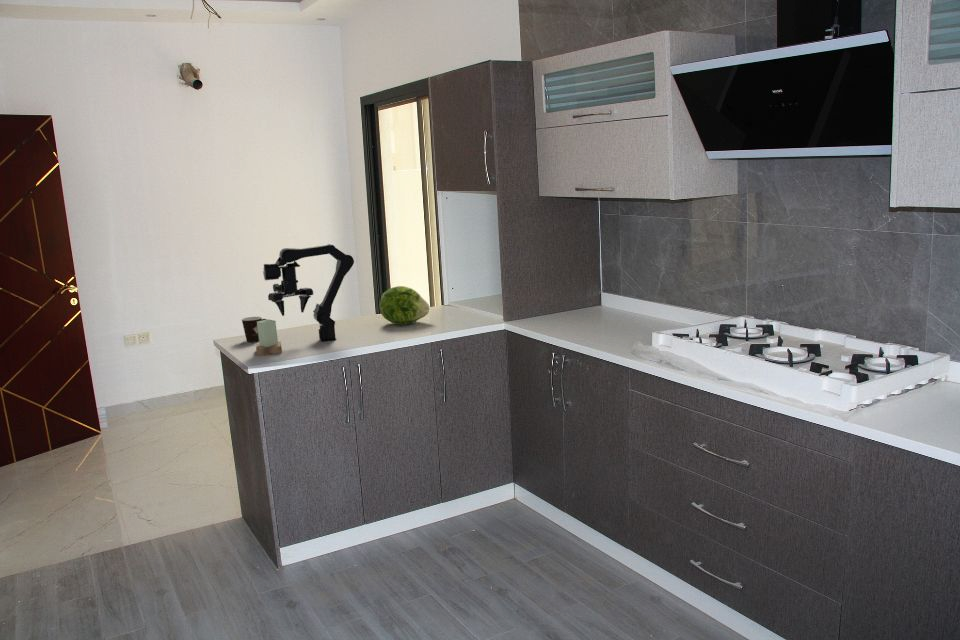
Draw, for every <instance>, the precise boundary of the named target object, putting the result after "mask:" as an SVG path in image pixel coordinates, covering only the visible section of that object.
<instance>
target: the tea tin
mask: <svg viewBox="0 0 960 640" xmlns="http://www.w3.org/2000/svg"><path fill="white" fill-rule="evenodd" d="M276 322H277V321H276V320H273V319H268V318H267V320H263V321H258V322H257V327H258V335H259V341H258V342H259V343H258V344H260V346H264V347H269V346H273V345H278V342H279V339H278V331H277V323H276Z"/></svg>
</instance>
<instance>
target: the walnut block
mask: <svg viewBox="0 0 960 640" xmlns="http://www.w3.org/2000/svg"><path fill="white" fill-rule="evenodd" d="M282 348H283V347H282V342H281V341H279V340H278V345H273V346H269V347H264V346H260V343H256V345H255V352H256V356H257V357H259V356H261V357H262V356H271V355H279V354H280V355H281V354H283V349H282Z"/></svg>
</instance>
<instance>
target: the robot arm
mask: <svg viewBox="0 0 960 640" xmlns="http://www.w3.org/2000/svg"><path fill="white" fill-rule="evenodd" d="M323 255H330V256H331V257H333V258H334V259H335V260H336V265H335V271H334V275H333V276H332V279H331V282H330V283H329V287H327V290H326V293H325V296H324V297H323V300H322V302H321V303H315V304H316V305H315V308H314V309H313V311H312V312H313V319H314V320H315V321H316V322H318V324H319V329H318V338H319V340H320V341H321V342H324V341H325V342H327V341H336V340H337V337H336V328H335V326H336V321H335V320H334V319H333V318H331V314H332V308H333V304H334V301H335V299H336V297H337V294H338V292H339V291H340V288H341V285H342V283H343V280H344V278H345V276H346V275H347V274H348V273H349V272H350V270H351V269H352V267H353V265H354V263H355V260H354V257H353V256H352V255H351V254H348V253H344V252H343V251H341V250H340V249H339V248H337V247H336V246H335V245H333V244H331V243H327V244H325V245H318V246H317V245H316V246H312V247H305V248H304V247H303V248H296V247H295V248H291V247H288V248H287V247H284V248H282V249H281V250H280V251H279V255H278V257H277V258H278V259H277V260H276V262H275V263H264V264H263V271H262V273H263V279H264V281H273V280H279V279H280V278H281V277H282V280H281V281H280V282H281V283H280V284H279V283H274V284H272V289H273V292H271V293H268V295H267V297H268V301H271V302H272V303H274V304H275V305H276V306H277V308H278V310H279V312H280V314H281V316H282V317H285V301H284V300H283V299H285V298H290V297H297V296H298V299H299V300H300V311H301V313H304V312H305V309H306V306H307V303H308V301H309V299H310V298H312V296H314V290H313V289H312V288H311V287H301V288H299V289H298V283H299V280H298V279H297V271H296V268H298V267H299V268H300V267H301V265H300V264H299V263H298V262H297V261H298V260H301V259H305V258H310V257H316V256H323Z"/></svg>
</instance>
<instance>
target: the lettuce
mask: <svg viewBox="0 0 960 640" xmlns="http://www.w3.org/2000/svg"><path fill="white" fill-rule="evenodd" d="M379 309H380V314H381V315H382V317H383V319H385V320H387V321H388V322H390V323H392V324H394V325H399V326H404V325H410V324H414V323H416V322H417V321H418V320H421V319H422V318H424V317H426V316H428V315H429V312H430V304H429V303H428V302H427V301H426V300H425V299H424V298H423V297H422V296H421V295H420V293H419V292H418V291H416V290H415V289H413V288H411V287H408V286H403V285H402V286H399V285H398V286H394V287H391V288H388V289H387V290H385V291H384V292H383V293H382V296H381V298H380V301H379Z"/></svg>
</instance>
